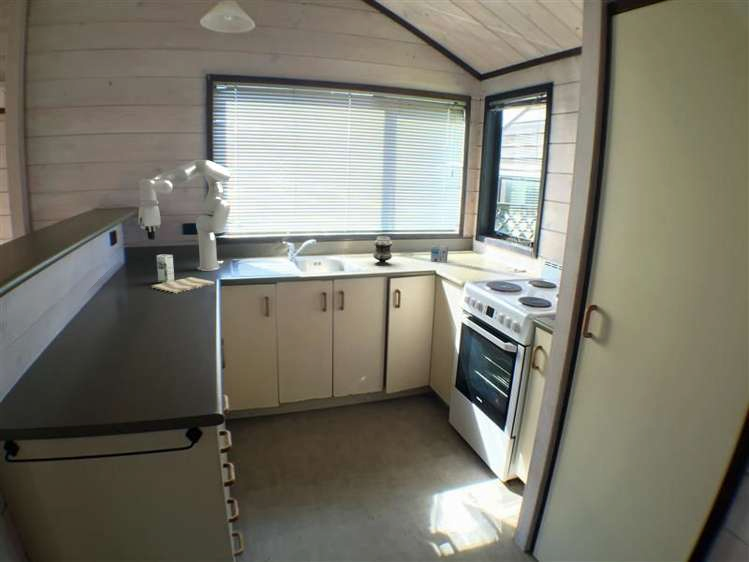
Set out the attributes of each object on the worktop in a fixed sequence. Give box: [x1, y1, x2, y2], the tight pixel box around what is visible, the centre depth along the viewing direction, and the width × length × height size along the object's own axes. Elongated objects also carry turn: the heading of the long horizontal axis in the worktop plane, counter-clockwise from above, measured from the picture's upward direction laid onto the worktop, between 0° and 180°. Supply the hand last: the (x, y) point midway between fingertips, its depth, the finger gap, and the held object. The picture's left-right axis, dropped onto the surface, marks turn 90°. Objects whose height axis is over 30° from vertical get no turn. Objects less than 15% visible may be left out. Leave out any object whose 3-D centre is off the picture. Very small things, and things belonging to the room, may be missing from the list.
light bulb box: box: [430, 244, 449, 264], centre depth 325 cm, size 11×7×11 cm, turn 73°
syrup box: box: [156, 254, 175, 284], centre depth 248 cm, size 6×6×14 cm
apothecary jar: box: [373, 235, 393, 267], centre depth 309 cm, size 12×12×18 cm
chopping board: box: [150, 276, 215, 294], centre depth 243 cm, size 24×18×1 cm
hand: (151, 239), depth 249 cm, fingers closed
